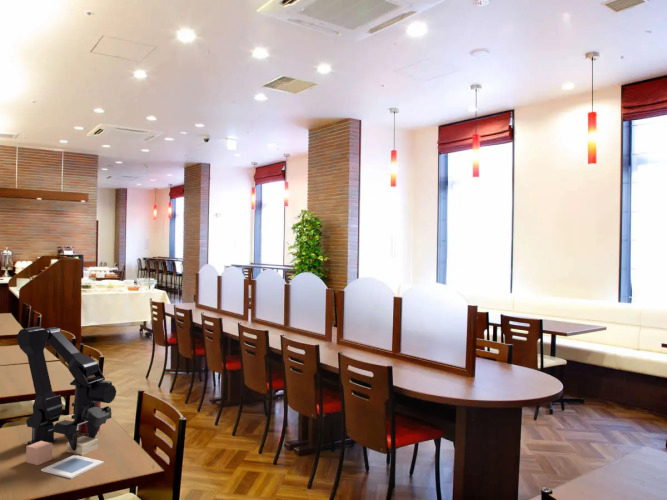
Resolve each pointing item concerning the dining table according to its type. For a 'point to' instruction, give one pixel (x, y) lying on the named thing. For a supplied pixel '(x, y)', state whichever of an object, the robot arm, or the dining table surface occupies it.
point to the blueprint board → (72, 466)
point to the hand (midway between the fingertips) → (82, 446)
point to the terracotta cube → (39, 452)
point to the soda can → (83, 427)
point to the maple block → (84, 445)
